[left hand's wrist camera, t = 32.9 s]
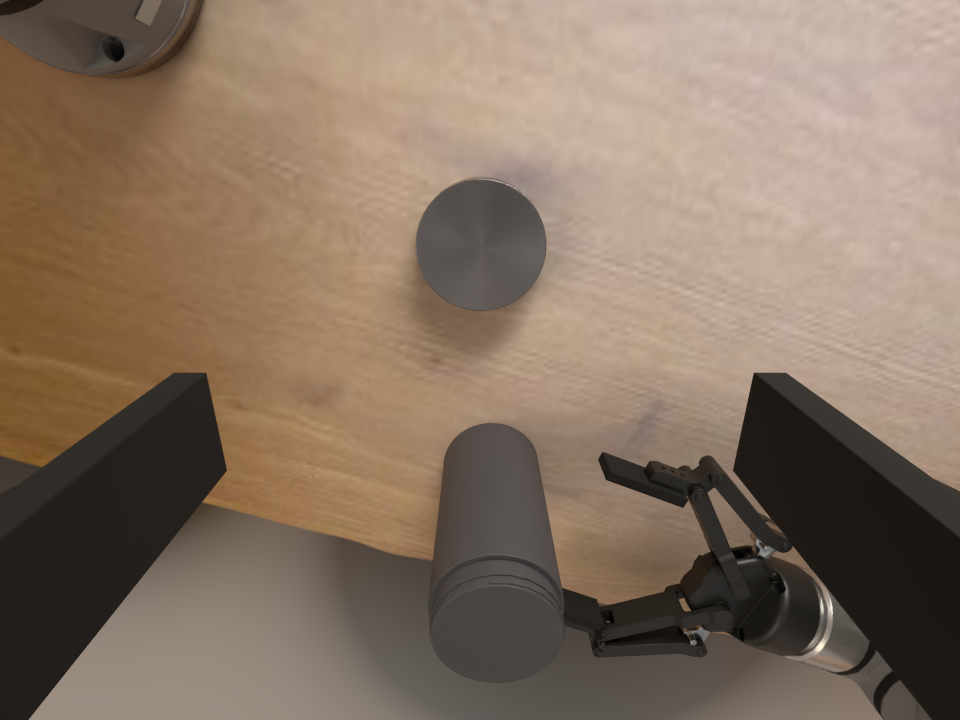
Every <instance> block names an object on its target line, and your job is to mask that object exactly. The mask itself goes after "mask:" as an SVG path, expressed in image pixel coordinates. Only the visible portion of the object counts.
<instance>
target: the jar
mask: <svg viewBox="0 0 960 720" xmlns="http://www.w3.org/2000/svg"><path fill="white" fill-rule="evenodd" d="M428 611H429V616H430V636H431V642H432V645H433V648H434V650H435V652H436V654H437V656H438V657H439V658H440V660H441V661H442V662H443V663H444V664H445V665H446V666H447V667H449V668H450V669H451V670H453V671H454V672H456V673H458V674H460V675H462V676H464V677H467V678H470V679H473V680H477V681H482V682H492V683H501V682H511V681H516V680H520V679H523V678H526V677H529V676H531V675H533V674H535V673H537V672H539V671H540V670H542V669H543V668H545V667H546V666H547V665H548V664H549V663H550V662H551V661H552V660H553V659H554V658H555V656H556V655H557V653H558V652H559V650H560V647H561V645H562V642H563V641H564V634H565V624H564V617H563V611H564V598H563V592H562V587H561V581H560V576H559V571H558V565H557V560H556V555H555V549H554V544H553V539H552V533H551V528H550V523H549V517H548V512H547V507H546V501H545V496H544V491H543V485H542V480H541V475H540V470H539V464H538V459H537V454H536V451H535V449H534V447H533V445H532V443H531V442H530V441H529V439H528V438H527V437H526V436H525V435H523V434H522V433H521V432H519V431H518V430H516V429H514V428H512V427H509V426H506V425H501V424H493V423H491V424H481V425H477V426H474V427H471V428H469V429H467V430H465V431H463V432H462V433H461V434H459V435H458V436H457V437H456V438H455V439H454V440H453V441H452V443H451V444H450V446H449V447H448V449H447V452H446V455H445V461H444V469H443V478H442V487H441V495H440V504H439V513H438V521H437V530H436V539H435V547H434V556H433V565H432V573H431V582H430V591H429V600H428Z"/></svg>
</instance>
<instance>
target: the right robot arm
mask: <svg viewBox="0 0 960 720" xmlns="http://www.w3.org/2000/svg"><path fill="white" fill-rule="evenodd" d="M598 460H599V463H600V465H601V468H602V471H603V473H604V476H605V478H606V480H608V481H611V482H613V483H616V484H619V485H622V486H625V487H627V488H630V489H633V490H636V491H638V492H641V493H644V494H647V495H649V496H652V497H655V498H658V499H660V500H663V501H666V502H669V503H671V504H674V505H677V506H680V507H682V508H683V507H684V506H685V504H686V503H687V502H688V499H689V502H690V504H691V506H692V508H693V511H694V513H695V515H696V518H697V520H698V522H699V524H700V527H701V529H702V531H703V533H704V537H705V539H706V542H707V544H708V546H709V548H710V551H711V552H709V553H706V554H704V555H703V556H701V555H699V556H698V557H697V559H696V560H695V561H694V564H693V567H692V569H691V570H690V571H689V572H687V573H686V574H685V575H684V577H683V578H682V579H681V581H680V582H681V583H680V584H675V585H671V586H668V587H666V589H665V591H664V592H662V593H658V594H654V595H650V596H645V597H641V598H637V599H632V600H628V601H624V602H620V603H615V604H611V605H607V606H603V607H599V606H598V602H597V599H594V598H591V597H588V596H585V595H582V594H579V593H576V592H573V591H570V590H567V589H564V588H562V592H563V598H564V611H563V617H564V624H565V626H569V627H572V628H575V629H578V630H581V631H584V632H588V633H589V638H590V642H591V646H592V651H593V654H594V656H596V657H617V656H637V655H657V654H677V653H680V654H685V655H690V656H694V657H703V656H705V655H706V654H707V649H706V647H705V644H704V641H705V640H706V638H707V636H708V635H709V633H710V632H727V633H729V634H731V635H732V636H734V637H735V638H737V639H738V640H740V641H742V642H743V643H745V644H747V645H749V646H753V647H755V648H758V649H762V650H765V651H768V652H771V653H774V654H777V655H780V656H784V657H786V658H788V659H791V660H794V661H797V662H801V663H804V664H807V665H810V666H813V667H817V668H820V669H823V670H826V671H829V672H831V673H835V674H838V675H842V676H845V677H847V678H850V679H852V680H854V681H855V682H856V683H857V684H858V685H859V686H860V688H861V689H862V690H863V692H864V693H865V695H866V696H867V698H868V699H869V700H870V702H871V703H872V705H873V706H874V708H875V709H876V710H877V712H878V713H879V714H880V716H881V717H882V718H883V720H931V718H930V717H929V716H928V715H927V713H926V712H925V711H924V710H923V708H922V707H921V706H920V704H919V703H918V702H917V701H916V699H915V698H914V697H913V696H912V694H911V693H910V692H909V691H908V689H907V688H906V687H905V686H904V684H903V683H902V682H901V681H900V679H899V678H898V677H897V676H896V674H895V673H894V672H893V671H892V669H891V668H890V667H889V666H888V664H887V663H886V662H885V661H884V659H883V658H882V657H881V656H880V654H879V653H878V652H877V651H876V649H875V648H874V647H873V646H872V644H871V643H870V642H869V640H868V639H867V638H866V637H865V635H864V634H863V633H862V632H861V630H860V629H859V628H858V627H857V625H856V624H855V623H854V622H853V620H852V619H851V618H850V617H849V615H848V614H847V613H846V612H845V610H844V609H843V608H842V607H841V605H840V604H839V603H838V602H837V600H836V599H835V598H834V597H833V595H832V594H831V593H830V592H829V590H828V589H827V588H826V587H825V585H824V584H823V583H822V582H821V580H820V579H819V578H818V577H817V575H816V574H815V573H814V572H813V571H810V570H808V569H804V568H801V567H798V566H796V565H794V564H792V563H789V562H786V561H784V560H781V559H778V558H775V557H773V556H771V555H772V554H773V553H774V552H775V551H776V550H777V551H779V552H782V553H785V552H788V551H790V550H791V549H792V547H793V545H792V544H791V543H790V541H789V540H788V539H787V538H786V536H785V535H784V534H783V533H782V531H781V530H780V529H779V528H778V526H777V525H776V524H775V523H774V521H773V520H771V519H769V518H768V517H766V516H764V515H762V514H760V513H758V512H757V511H756V510H755V508H754V507H753V506H752V505H751V503H750V502H749V501H748V500H747V498H746V497H745V496H744V495H743V494H742V492H741V491H740V490H739V489H738V487H737V486H736V485H735V484H734V483H733V481H732V480H731V479H730V478H729V476H728V475H727V474H726V473H725V472H724V470H723V469H722V468H721V467H720V465H719V464H718V463H717V462H716V460H715V459H714V458H713V457H712V456H704V457H702V458H701V459H700V461H699V466H698V467H697V468H695V469H694V470H691V468H690V467H689V466H681V467H679V468H678V469H676V468H673V467H671V466H668V465H665V464H663V463H660V462H657V461H649V463H648V465H647V466H646V468H645V467H642V466H639V465H637V464H634V463H631V462H629V461H626V460H623V459H621V458H618V457H615V456H612V455H610V454H607V453H604V452H602V454H601V456H600V457H599V459H598ZM714 487H715V488H716V489H717V490H718V491H719V493H720V494H721V495H722V496H723V497H724V499H725V500H726V501H727V502H728V503H729V505H730V506H731V507H732V508H733V509H734V511H735V512H736V513H737V514H738V515H739V517H740V518H741V519H742V520H743V521H744V523H745V524H746V525H747V526H748V527H749V529H750V531H751V534H750V537H751V539H752V540H753V542H754V546H749V545H746V546H740V547H735V548H730V546H729V544H728V541H727V539H726V537H725V534H724V532H723V529H722V527H721V525H720V522H719V520H718V518H717V515H716V513H715V510H714V508H713V506H712V503H711V501H710V499H709V496H708V494H707V492H709V491H710V490H711V489H712V488H714ZM686 496H687V497H688V499H687V497H686ZM681 598H685V600H686V603H687V605H688V606H689V608H690V609H691V611H688V612H686V611H684V610H683V609H682V606H681V604H680V602H679V599H681ZM606 620H609V621H610V622H611V623H607V622H606Z"/></svg>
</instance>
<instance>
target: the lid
mask: <svg viewBox="0 0 960 720" xmlns="http://www.w3.org/2000/svg"><path fill="white" fill-rule="evenodd" d="M416 254H417V259H418V264H419V267H420V269H421V272H422V274H423V276H424V278H425V279H426V281H427V282H428V284H429V285H430V287H431V288H432V289H433V290H434V291H435V292H436V293H437V294H438V295H439V296H441V297H442V298H443V299H445V300H446V301H448V302H449V303H451V304H454V305H456V306H458V307H461V308H464V309H469V310H477V311H485V310H493V309H498V308H501V307H504V306H506V305H508V304H511V303H513V302H514V301H516V300H517V299H519V298H520V297H521V296H523V295H524V294H525V293H526V292H527V291H528V290H529V289H530V288H531V287H532V285H533V284H534V282H535V281H536V279H537V278H538V276H539V274H540V272H541V269H542V267H543V264H544V260H545V255H546V235H545V230H544V226H543V223H542V220H541V218H540V216H539V214H538V212H537V210H536V209H535V207H534V206H533V204H532V203H531V202H530V201H529V200H528V199H527V198H526V197H525V196H524V195H523V194H522V193H521V192H520V191H519V190H517V189H516V188H514V187H513V186H511V185H509V184H507V183H505V182H502V181H500V180H496V179H492V178H471V179H466V180H462V181H460V182H457V183H455V184H453V185H451V186H449V187H448V188H446V189H445V190H443V191H442V192H441V193H440V194H439V195H438V196H437V197H436V198H435V199H434V200H433V201H432V202H431V203H430V205H429V206H428V207H427V209H426V210H425V212H424V214H423V216H422V218H421V220H420V223H419V226H418V230H417V236H416Z"/></svg>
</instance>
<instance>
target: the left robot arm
mask: <svg viewBox="0 0 960 720" xmlns="http://www.w3.org/2000/svg"><path fill="white" fill-rule="evenodd" d="M201 4H202V0H0V37H2V38H3V39H5V40H6V41H8V42H9V43H11V44H12V45H14V46H15V47H17V48H18V49H20V50H22V51H23V52H25V53H26V54H28V55H30V56H32V57H33V58H35V59H37V60H39V61H41V62H43V63H46V64H48V65H50V66H53V67H56V68H59V69H62V70H66V71H70V72H74V73H79V74H84V75H89V76H94V77H101V78H125V77H130V76H136V75H139V74H142V73H145V72H147V71H150V70H152V69H154V68H156V67H157V66H159V65H161V64H162V63H164V62H165V61H166V60H168V59H169V58H170V57H171V56H172V55H173V54H174V53H175V52H176V51H177V50H178V49H179V48H180V47H181V46H182V44H183V43H184V42H185V40H186V39H187V37H188V35H189V34H190V32H191V30H192V28H193V26H194V24H195V22H196V19H197V17H198V14H199V11H200V8H201ZM226 471H227V469H226V464H225V459H224V454H223V450H222V445H221V440H220V436H219V431H218V426H217V422H216V417H215V412H214V407H213V403H212V398H211V393H210V389H209V384H208V379H207V375H206V373H173V374H172V375H170V376H169V377H168V378H166V379H165V380H163V381H162V382H161V383H159V384H158V385H156V386H155V387H154V388H152V389H151V390H150V391H148V392H147V393H145V394H144V395H143V396H141V397H140V398H138V399H137V400H136V401H134V402H133V403H131V404H130V405H129V406H127V407H126V408H124V409H123V410H122V411H120V412H119V413H118V414H116V415H115V416H113V417H112V418H111V419H109V420H108V421H106V422H105V423H104V424H102V425H101V426H99V427H98V428H97V429H95V430H94V431H92V432H91V433H90V434H88V435H87V436H86V437H84V438H83V439H81V440H80V441H79V442H77V443H76V444H74V445H73V446H72V447H70V448H69V449H67V450H66V451H65V452H63V453H62V454H60V455H59V456H58V457H56V458H55V459H53V460H52V461H51V462H49V463H48V464H47V465H45V466H44V467H42V468H41V469H40V470H38V471H37V472H35V473H34V474H33V475H31V476H30V477H28V478H27V479H26V480H24V481H23V482H21V483H20V484H19V485H17V486H15V487H13V488H11V489H9V490H7V491H5V492H3V493H1V494H0V720H29V718H30V717H31V716H32V714H33V713H34V712H35V711H36V710H37V708H38V707H39V706H40V704H41V703H42V702H43V701H44V699H45V698H46V697H47V696H48V694H49V693H50V692H51V691H52V689H53V688H54V687H55V686H56V684H57V683H58V682H59V681H60V679H61V678H62V677H63V676H64V674H65V673H66V672H67V671H68V669H69V668H70V667H71V665H72V664H73V663H74V662H75V661H76V659H77V658H78V657H79V656H80V654H81V653H82V652H83V651H84V649H85V648H86V647H87V645H88V644H89V643H90V642H91V640H92V639H93V638H94V637H95V635H96V634H97V633H98V632H99V630H100V629H101V628H102V627H103V625H104V624H105V623H106V622H107V620H108V619H109V618H110V617H111V615H112V614H113V613H114V612H115V610H116V609H117V608H118V607H119V605H120V604H121V603H122V602H123V600H124V599H125V598H126V597H127V595H128V594H129V593H130V592H131V590H132V589H133V588H134V586H135V585H136V584H137V583H138V581H139V580H140V579H141V578H142V577H143V575H144V574H145V573H146V571H147V570H148V569H149V568H150V566H151V565H152V564H153V563H154V561H155V560H156V559H157V558H158V556H159V555H160V554H161V553H162V551H163V550H164V549H165V548H166V546H167V545H168V544H169V543H170V541H171V540H172V539H173V538H174V536H175V535H176V534H177V533H178V531H179V530H180V529H181V528H182V526H183V525H184V524H185V523H186V521H187V520H188V519H189V518H190V516H191V515H192V514H193V513H194V511H195V510H196V509H197V507H198V506H199V505H200V504H201V502H202V501H203V500H204V499H205V497H206V496H207V495H208V494H209V492H210V491H211V490H212V489H213V487H214V486H215V485H216V484H217V482H218V481H219V480H220V479H221V477H222V476H223V475H224V474H225V472H226ZM733 471H734V472H735V474H736V475H737V476H738V477H739V479H740V480H741V481H742V482H743V484H744V485H745V486H746V487H747V489H748V490H749V491H750V492H751V494H752V495H753V496H754V497H755V499H756V500H757V501H758V502H759V504H760V505H761V506H762V507H763V509H764V510H765V511H766V513H767V514H768V515H769V516H770V518H771V519H772V520H773V521H774V523H775V524H776V525H777V526H778V528H779V529H780V530H781V531H782V533H783V534H784V535H785V536H786V538H787V539H788V540H789V541H790V543H791V544H792V545H793V546H794V548H795V549H796V550H797V551H798V553H799V554H800V555H801V556H802V558H803V559H804V560H805V561H806V563H807V564H808V565H809V566H810V568H811V569H812V570H813V571H814V573H815V574H816V575H817V577H818V578H819V579H820V580H821V582H822V583H823V584H824V585H825V587H826V588H827V589H828V590H829V592H830V593H831V594H832V595H833V597H834V598H835V599H836V600H837V602H838V603H839V604H840V605H841V607H842V608H843V609H844V610H845V612H846V613H847V614H848V615H849V617H850V618H851V619H852V620H853V622H854V623H855V624H856V625H857V627H858V628H859V629H860V630H861V632H862V633H863V634H864V635H865V637H866V638H867V639H868V640H869V642H870V643H871V644H872V646H873V647H874V648H875V649H876V651H877V652H878V653H879V654H880V656H881V657H882V658H883V659H884V661H885V662H886V663H887V664H888V666H889V667H890V668H891V669H892V671H893V672H894V673H895V674H896V676H897V677H898V678H899V679H900V681H901V682H902V683H903V684H904V686H905V687H906V688H907V689H908V691H909V692H910V693H911V694H912V696H913V697H914V698H915V699H916V701H917V702H918V703H919V704H920V706H921V707H922V708H923V710H924V711H925V712H926V713H927V715H928V716H929V717H930V718H931V720H960V491H958V490H956V489H954V488H952V487H950V486H948V485H945V484H943V483H941V482H939V481H937V480H935V479H933V478H932V477H930V476H929V475H927V474H926V473H925V472H923V471H922V470H920V469H919V468H918V467H916V466H915V465H913V464H912V463H911V462H909V461H908V460H907V459H905V458H904V457H902V456H901V455H900V454H898V453H897V452H895V451H894V450H893V449H891V448H890V447H888V446H887V445H886V444H884V443H883V442H881V441H880V440H879V439H877V438H876V437H874V436H873V435H872V434H870V433H869V432H868V431H866V430H865V429H863V428H862V427H861V426H859V425H858V424H856V423H855V422H854V421H852V420H851V419H849V418H848V417H847V416H845V415H844V414H842V413H841V412H840V411H838V410H837V409H836V408H834V407H833V406H831V405H830V404H829V403H827V402H826V401H824V400H823V399H822V398H820V397H819V396H817V395H816V394H815V393H813V392H812V391H810V390H809V389H808V388H806V387H805V386H804V385H802V384H801V383H799V382H798V381H797V380H795V379H794V378H792V377H791V376H790V375H788V374H787V373H754V375H753V379H752V384H751V389H750V393H749V398H748V403H747V407H746V412H745V417H744V422H743V426H742V431H741V436H740V440H739V445H738V450H737V454H736V459H735V464H734V469H733Z"/></svg>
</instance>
